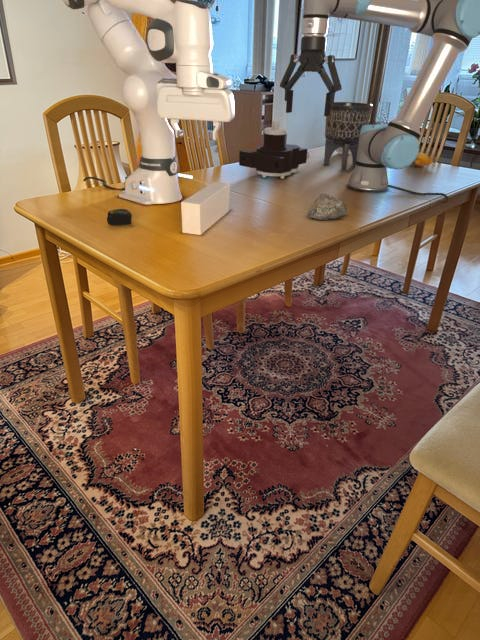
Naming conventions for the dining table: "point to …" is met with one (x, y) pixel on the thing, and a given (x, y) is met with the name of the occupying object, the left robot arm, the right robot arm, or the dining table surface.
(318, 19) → the right robot arm
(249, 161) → the mechanical component
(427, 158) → the toy
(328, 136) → the planter
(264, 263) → the dining table surface
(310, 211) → the rock
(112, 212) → the tape measure
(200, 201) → the bar
